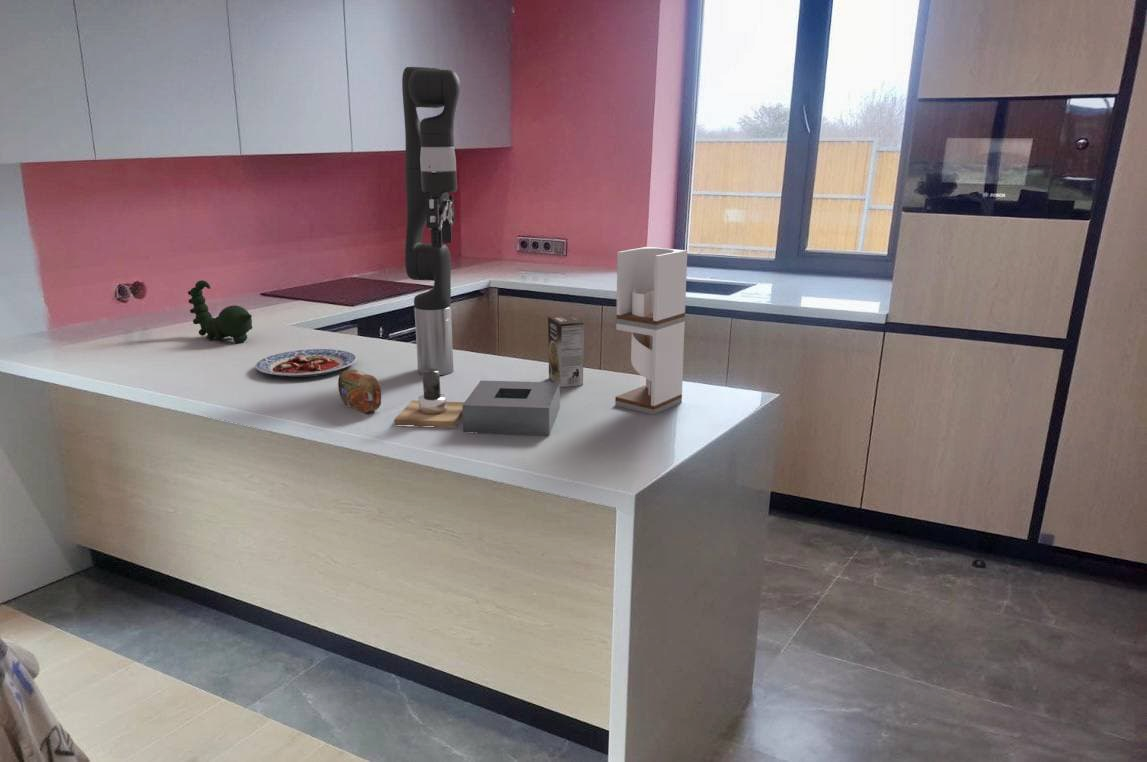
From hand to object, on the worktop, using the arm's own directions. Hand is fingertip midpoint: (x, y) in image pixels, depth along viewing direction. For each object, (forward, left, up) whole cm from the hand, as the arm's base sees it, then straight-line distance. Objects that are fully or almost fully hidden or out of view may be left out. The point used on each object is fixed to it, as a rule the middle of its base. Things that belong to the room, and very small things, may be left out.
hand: (442, 245), depth 178 cm
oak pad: (+11, -1, -36) cm, 38 cm away
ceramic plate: (-25, -45, -37) cm, 63 cm away
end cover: (+11, -1, -35) cm, 36 cm away
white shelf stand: (-3, +46, -36) cm, 59 cm away
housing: (+11, +17, -36) cm, 41 cm away
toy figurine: (-53, -83, -36) cm, 105 cm away
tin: (+6, -19, -36) cm, 41 cm away
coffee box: (-19, +25, -36) cm, 48 cm away
